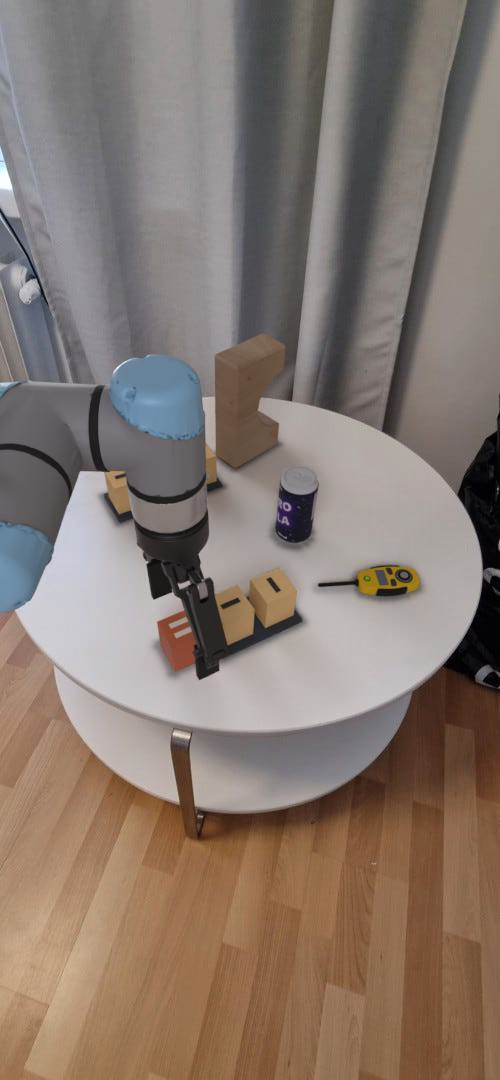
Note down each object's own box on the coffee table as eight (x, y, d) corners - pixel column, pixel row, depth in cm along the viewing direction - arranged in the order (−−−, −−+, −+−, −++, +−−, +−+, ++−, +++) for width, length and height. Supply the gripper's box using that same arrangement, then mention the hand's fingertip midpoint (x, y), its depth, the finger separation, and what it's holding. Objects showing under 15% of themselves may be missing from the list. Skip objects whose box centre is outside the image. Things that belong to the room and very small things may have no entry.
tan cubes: (119, 522, 93) (113, 493, 89) (104, 496, 97) (98, 467, 93) (222, 487, 100) (222, 458, 95) (204, 463, 104) (203, 435, 99)
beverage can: (285, 516, 95) (291, 458, 87) (316, 529, 94) (326, 471, 85) (268, 537, 92) (273, 479, 83) (300, 552, 90) (309, 494, 81)
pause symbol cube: (174, 672, 75) (171, 648, 71) (160, 645, 78) (156, 621, 74) (206, 657, 77) (205, 633, 73) (191, 631, 79) (189, 607, 75)
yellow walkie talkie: (424, 586, 84) (321, 593, 82) (421, 595, 85) (320, 601, 84) (414, 561, 87) (315, 567, 86) (411, 569, 88) (313, 575, 87)
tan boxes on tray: (222, 659, 77) (222, 632, 72) (198, 620, 81) (197, 592, 76) (302, 622, 81) (306, 594, 77) (276, 587, 85) (279, 559, 81)
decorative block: (258, 430, 111) (263, 331, 97) (279, 444, 108) (287, 344, 94) (213, 454, 106) (212, 353, 91) (234, 470, 103) (236, 368, 88)
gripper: (266, 581, 52) (258, 697, 68) (155, 433, 67) (170, 556, 83) (190, 613, 50) (200, 726, 65) (92, 452, 64) (119, 575, 80)
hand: (183, 631), depth 74 cm, fingers open, 13 cm apart
